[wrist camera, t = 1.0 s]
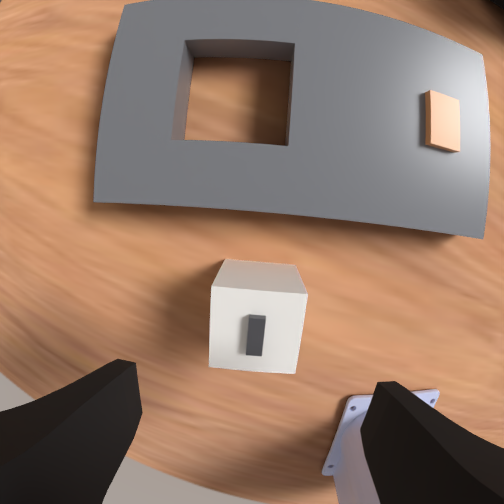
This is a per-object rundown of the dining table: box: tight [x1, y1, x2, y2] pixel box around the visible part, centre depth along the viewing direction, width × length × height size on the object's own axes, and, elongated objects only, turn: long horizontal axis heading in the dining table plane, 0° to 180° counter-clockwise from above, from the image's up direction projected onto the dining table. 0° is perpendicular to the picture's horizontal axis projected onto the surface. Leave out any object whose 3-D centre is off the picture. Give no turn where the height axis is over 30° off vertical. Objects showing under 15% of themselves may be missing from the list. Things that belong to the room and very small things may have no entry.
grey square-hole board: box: [93, 0, 490, 239], centre depth 14 cm, size 12×22×3 cm, turn 85°
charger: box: [209, 259, 308, 374], centre depth 15 cm, size 4×4×5 cm
